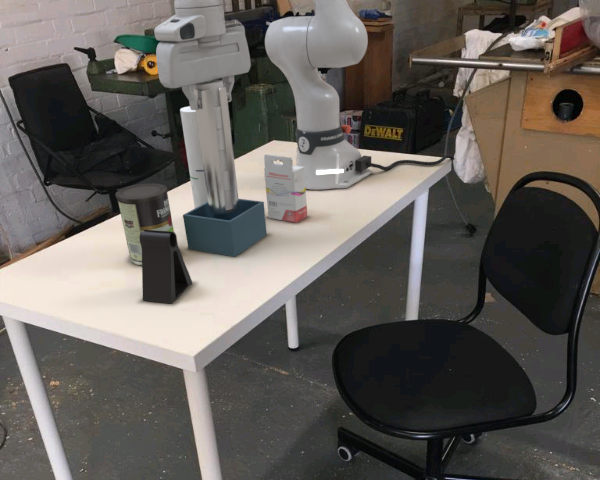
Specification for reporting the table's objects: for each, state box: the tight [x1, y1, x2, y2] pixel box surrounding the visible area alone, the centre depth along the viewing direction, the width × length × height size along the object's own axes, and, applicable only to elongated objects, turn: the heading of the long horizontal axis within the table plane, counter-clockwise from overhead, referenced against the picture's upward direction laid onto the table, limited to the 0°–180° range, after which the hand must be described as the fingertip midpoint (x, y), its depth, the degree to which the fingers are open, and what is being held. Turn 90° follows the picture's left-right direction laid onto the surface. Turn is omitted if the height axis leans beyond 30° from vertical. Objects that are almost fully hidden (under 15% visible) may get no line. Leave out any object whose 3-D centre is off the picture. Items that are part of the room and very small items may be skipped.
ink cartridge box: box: [263, 153, 308, 224], centre depth 149 cm, size 9×5×15 cm, turn 55°
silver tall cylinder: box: [193, 79, 240, 214], centre depth 131 cm, size 6×6×25 cm
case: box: [182, 198, 268, 258], centre depth 140 cm, size 13×12×8 cm
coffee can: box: [115, 182, 175, 266], centre depth 134 cm, size 10×10×14 cm
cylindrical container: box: [179, 105, 208, 209], centre depth 147 cm, size 7×7×25 cm
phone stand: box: [140, 230, 193, 304], centre depth 119 cm, size 9×6×12 cm, turn 162°
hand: (211, 105), depth 126 cm, fingers closed on silver tall cylinder, 6 cm apart
